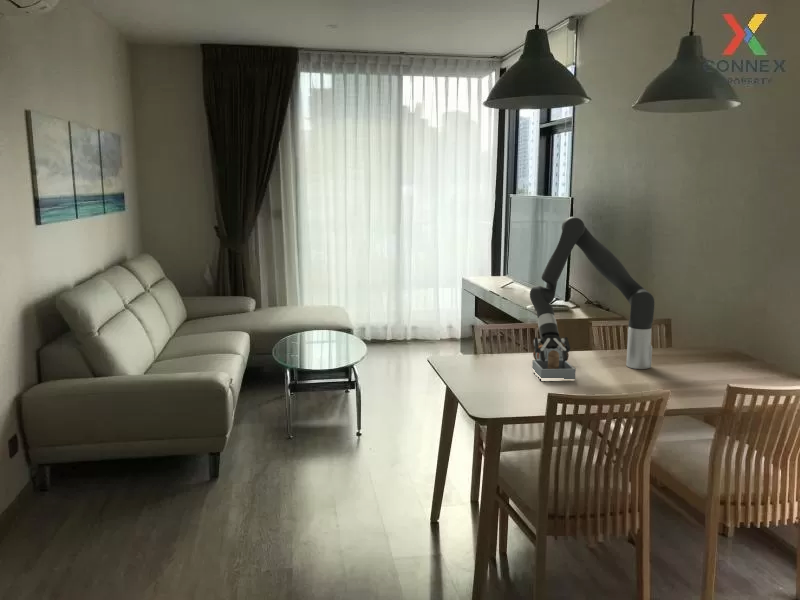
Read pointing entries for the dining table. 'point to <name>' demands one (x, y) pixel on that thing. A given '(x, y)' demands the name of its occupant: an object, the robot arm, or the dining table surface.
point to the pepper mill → (553, 360)
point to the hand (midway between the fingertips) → (554, 360)
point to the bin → (554, 370)
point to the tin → (546, 352)
